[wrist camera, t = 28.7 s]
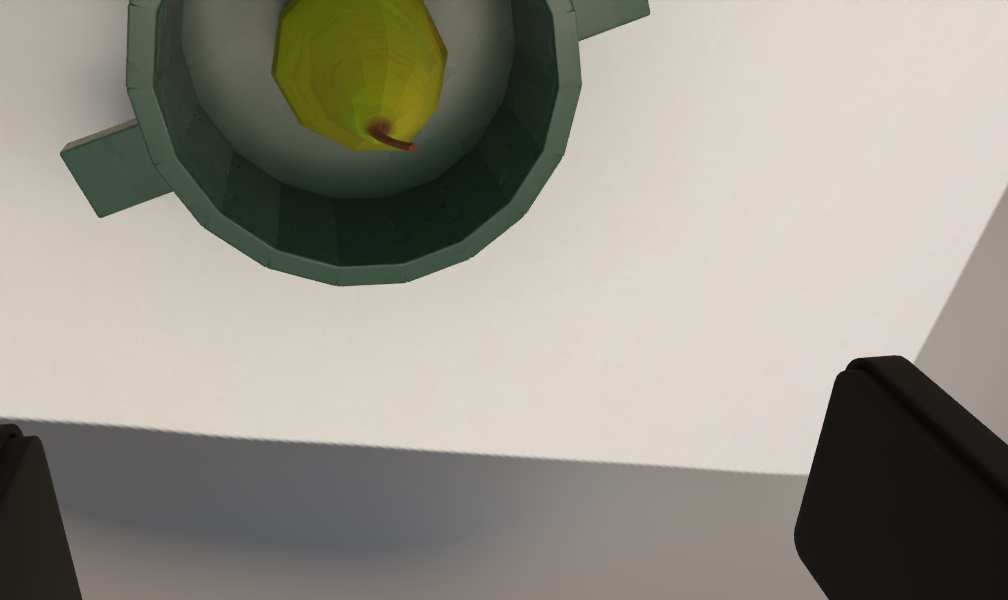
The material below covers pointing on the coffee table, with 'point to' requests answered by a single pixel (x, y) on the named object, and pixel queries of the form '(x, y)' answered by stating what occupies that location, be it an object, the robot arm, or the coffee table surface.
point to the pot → (328, 165)
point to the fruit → (360, 69)
